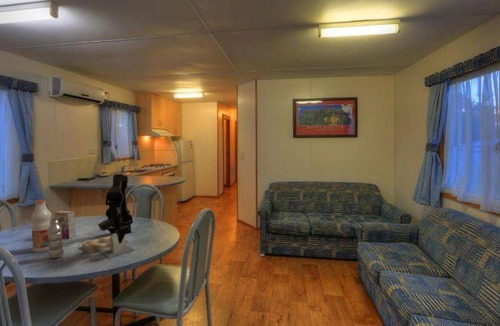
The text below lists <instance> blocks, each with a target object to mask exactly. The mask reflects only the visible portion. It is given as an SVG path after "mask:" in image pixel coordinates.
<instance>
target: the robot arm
mask: <svg viewBox="0 0 500 326" xmlns="http://www.w3.org/2000/svg"><path fill="white" fill-rule="evenodd" d="M128 184H129V176H128V175H126V174H121V173H120V174H117V173H116V174H114V175H113V176H112V187H111V188H110V189H108V191H107V193H106V196H105V206H108V207H107V209H106V210H105V216H106V218H107V219H105V220H103V221H102V222H99V223H98V224H97V225H98V227H99V230H100V231H102V232H104V231H108V232H109V234H110V235H109V236H111V234H113V233H116V234H117V236H118V241H119V244H120V243H122V240H123V238H124V236H125V237H126V234H132V233H133V231H132V224H133V223H134V219H133V216H132V214H131V210H129V208H128V204H127V203H128V201H127V193H126V192H127V191H126V190H127V187H128Z"/></svg>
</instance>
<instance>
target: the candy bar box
mask: <svg viewBox="0 0 500 326" xmlns="http://www.w3.org/2000/svg"><path fill="white" fill-rule="evenodd" d="M54 219H58V222H59V223H58V224H59V225H60V226H61V227H62V239H66V240H67V239H69V240H70V239H73V238H76V236H77V235H76V223H75V222H76V221H75V211H68V210H59V211H58V210H57V211H55V212H54Z"/></svg>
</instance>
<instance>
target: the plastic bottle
mask: <svg viewBox="0 0 500 326" xmlns="http://www.w3.org/2000/svg"><path fill="white" fill-rule="evenodd" d="M58 223H59V222H58V219H55V218H53V219H52V218H51V220H50V226H49V228H48V230H47V234H48V238H49V250H48V251H47V252H48V255H47V256H48V258H49V259H58V258H60V257H62V256H63V255H64V251H65V250H64V247H63V243H62V239H63V238H62V227H61V226H60V225H59V224H58Z"/></svg>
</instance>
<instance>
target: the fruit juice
mask: <svg viewBox="0 0 500 326" xmlns="http://www.w3.org/2000/svg"><path fill="white" fill-rule="evenodd" d="M46 203H47V200H46V199H38V200H34V204H35V209H34V211H33V212H32V214H31V215H30V216H31V218H30V219H31V222H32V224H31V237H32V238H31V239H32V250H33V252H34V253H42V252H48V251H49V238H48V234H47V230H48V228H49V226H50V220H52V212H51V211H50V210H49V209H48V207H47V205H46Z"/></svg>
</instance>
